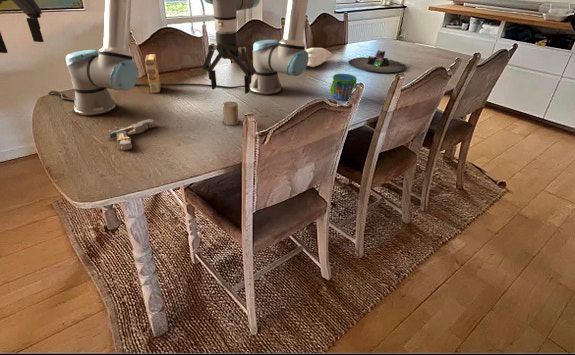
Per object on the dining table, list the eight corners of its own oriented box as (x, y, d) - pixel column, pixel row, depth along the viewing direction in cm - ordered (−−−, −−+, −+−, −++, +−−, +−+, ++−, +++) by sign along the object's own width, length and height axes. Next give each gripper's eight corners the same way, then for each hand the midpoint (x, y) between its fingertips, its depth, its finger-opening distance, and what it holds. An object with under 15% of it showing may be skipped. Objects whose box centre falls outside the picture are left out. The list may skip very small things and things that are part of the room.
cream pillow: (271, 61, 216) (273, 46, 210) (312, 52, 236) (315, 38, 230) (297, 77, 204) (300, 61, 198) (339, 66, 224) (342, 52, 218)
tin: (232, 126, 141) (231, 108, 137) (220, 122, 144) (219, 104, 140) (241, 121, 146) (240, 103, 141) (230, 118, 148) (229, 100, 144)
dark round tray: (418, 67, 219) (420, 52, 215) (377, 75, 202) (379, 59, 197) (375, 58, 244) (377, 43, 239) (336, 64, 226) (337, 49, 222)
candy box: (159, 92, 169) (154, 59, 161) (150, 93, 168) (144, 59, 160) (161, 86, 176) (156, 54, 168) (151, 86, 175) (146, 54, 167)
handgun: (169, 128, 131) (147, 116, 139) (122, 144, 120) (101, 130, 128) (170, 135, 133) (148, 122, 141) (123, 152, 121) (102, 137, 129)
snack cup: (347, 91, 179) (350, 71, 174) (362, 98, 172) (365, 77, 167) (322, 97, 172) (324, 75, 166) (336, 104, 165) (339, 82, 159)
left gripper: (-40, -38, 81) (-3, 58, 93) (40, -41, 102) (62, 38, 113) (-70, -40, 82) (-29, 56, 93) (16, -42, 103) (41, 36, 114)
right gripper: (188, 30, 126) (196, 89, 138) (256, 36, 120) (258, 97, 132) (199, 26, 132) (205, 83, 144) (263, 32, 126) (264, 90, 138)
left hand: (21, 46), depth 103 cm, fingers open, 13 cm apart
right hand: (230, 90), depth 138 cm, fingers open, 13 cm apart
